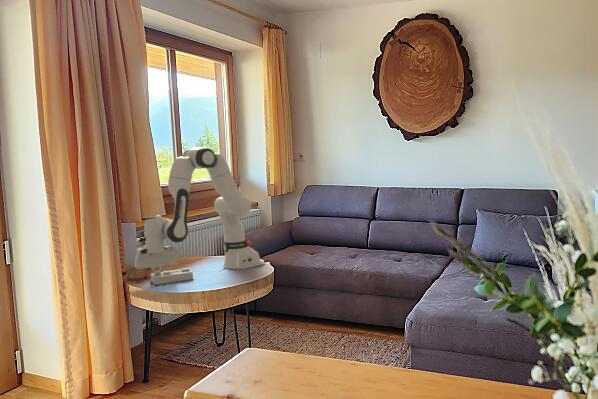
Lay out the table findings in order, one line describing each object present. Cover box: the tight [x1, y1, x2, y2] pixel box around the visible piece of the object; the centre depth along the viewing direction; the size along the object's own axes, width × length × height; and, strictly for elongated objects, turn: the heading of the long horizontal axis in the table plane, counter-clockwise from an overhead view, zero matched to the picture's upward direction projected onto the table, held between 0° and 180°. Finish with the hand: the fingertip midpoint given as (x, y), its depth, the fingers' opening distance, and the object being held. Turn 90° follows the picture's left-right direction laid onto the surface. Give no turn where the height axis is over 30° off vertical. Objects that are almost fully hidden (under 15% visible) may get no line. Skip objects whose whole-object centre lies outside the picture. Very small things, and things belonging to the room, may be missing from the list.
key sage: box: [162, 270, 171, 275], centre depth 257 cm, size 3×3×3 cm
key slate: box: [180, 267, 190, 272], centre depth 261 cm, size 3×3×3 cm
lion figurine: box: [126, 264, 152, 279], centre depth 270 cm, size 15×5×9 cm, turn 119°
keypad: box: [150, 267, 194, 287], centre depth 258 cm, size 19×12×4 cm, turn 114°
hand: (157, 275), depth 255 cm, fingers closed, pressing on key cream
